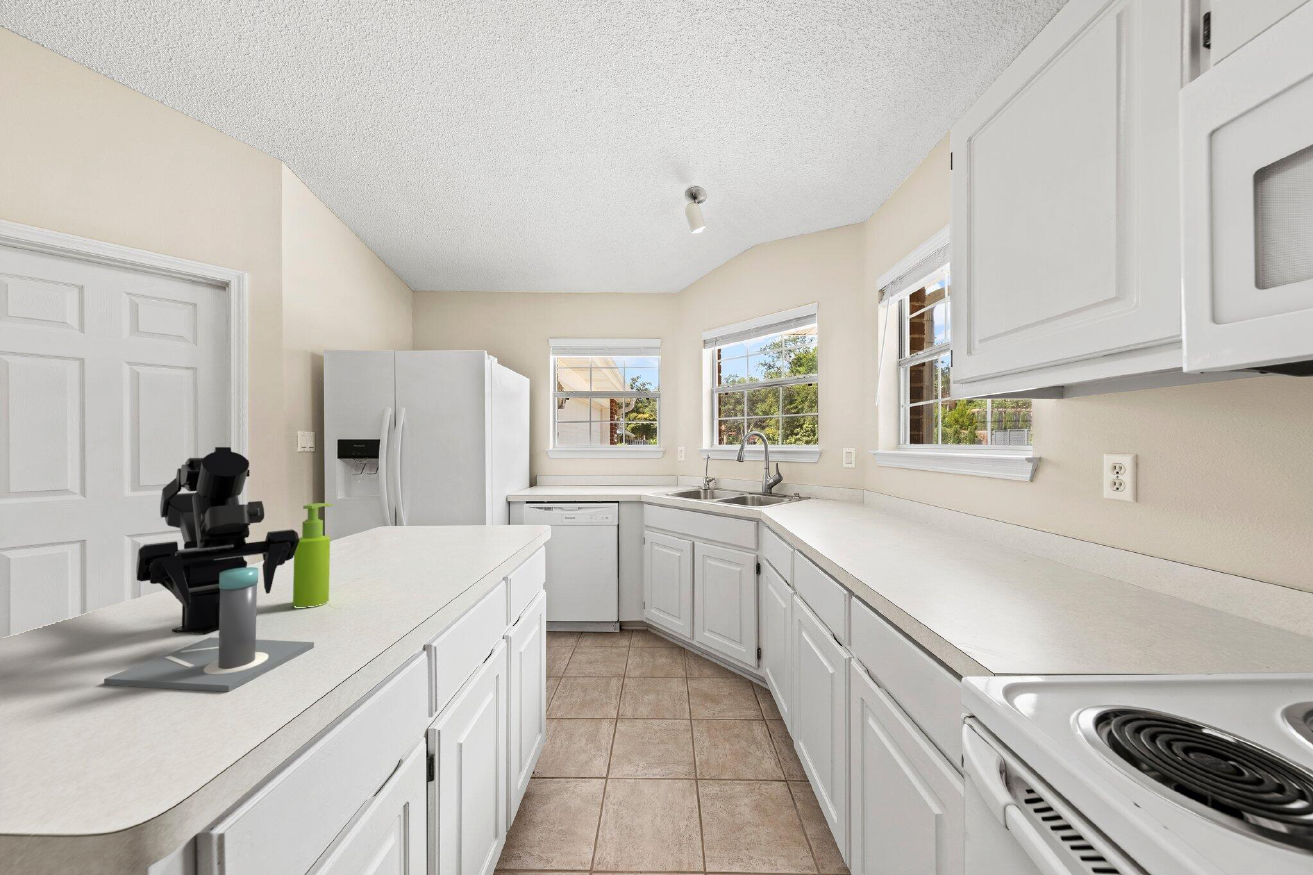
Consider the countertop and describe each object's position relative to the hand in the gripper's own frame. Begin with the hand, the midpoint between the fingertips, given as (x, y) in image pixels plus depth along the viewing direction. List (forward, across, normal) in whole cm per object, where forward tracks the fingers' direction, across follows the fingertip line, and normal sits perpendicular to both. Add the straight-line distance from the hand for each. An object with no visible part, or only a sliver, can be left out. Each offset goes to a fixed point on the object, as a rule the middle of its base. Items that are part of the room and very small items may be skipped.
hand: (230, 598), depth 73 cm
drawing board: (+8, -2, +5) cm, 9 cm away
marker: (+10, 0, +1) cm, 10 cm away
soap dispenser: (-8, +16, +21) cm, 27 cm away
